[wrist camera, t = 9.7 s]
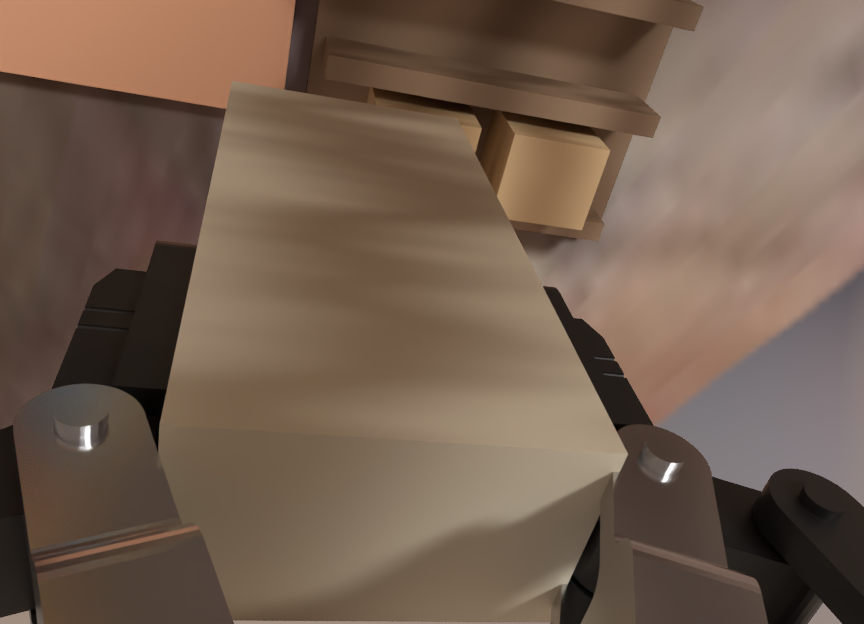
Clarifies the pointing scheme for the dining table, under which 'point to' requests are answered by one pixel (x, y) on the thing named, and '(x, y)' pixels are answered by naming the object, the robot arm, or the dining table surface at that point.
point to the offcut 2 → (543, 168)
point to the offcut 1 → (430, 109)
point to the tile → (150, 44)
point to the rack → (508, 64)
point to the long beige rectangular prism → (375, 379)
